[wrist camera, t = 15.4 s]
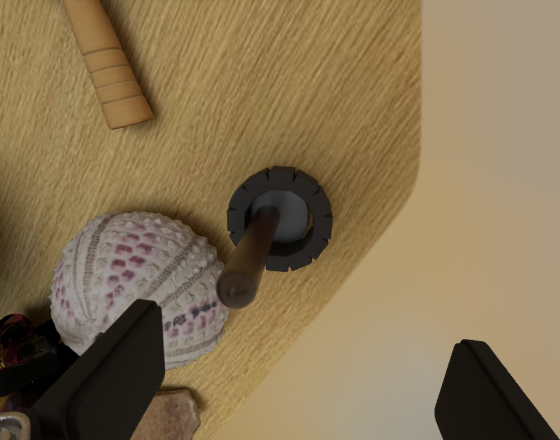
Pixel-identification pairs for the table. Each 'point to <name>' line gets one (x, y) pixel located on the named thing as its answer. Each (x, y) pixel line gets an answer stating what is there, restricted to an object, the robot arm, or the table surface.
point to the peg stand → (260, 244)
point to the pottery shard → (169, 417)
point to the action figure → (31, 355)
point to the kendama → (107, 65)
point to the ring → (304, 188)
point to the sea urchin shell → (139, 283)
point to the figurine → (19, 401)
